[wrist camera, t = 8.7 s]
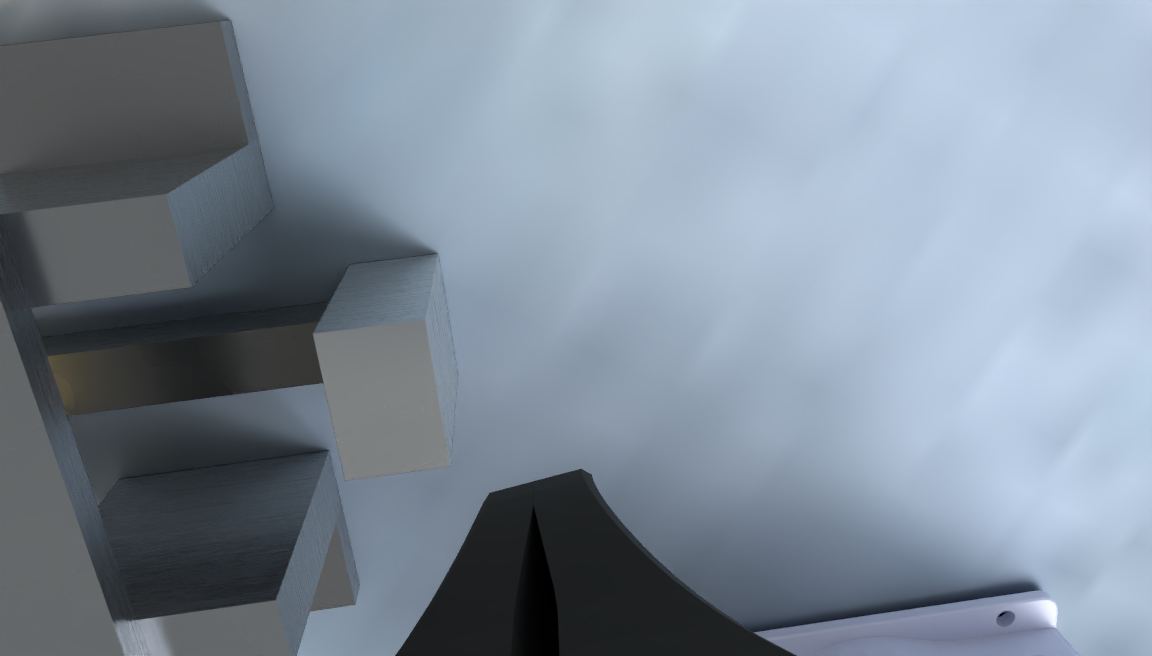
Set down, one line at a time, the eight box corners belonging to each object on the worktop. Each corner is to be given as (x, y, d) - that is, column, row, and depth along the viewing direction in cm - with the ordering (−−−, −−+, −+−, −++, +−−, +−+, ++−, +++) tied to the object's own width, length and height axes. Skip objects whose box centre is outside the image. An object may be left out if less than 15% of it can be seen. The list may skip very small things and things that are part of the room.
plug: (436, 243, 20) (420, 315, 16) (459, 384, 22) (451, 491, 17) (-205, 321, 20) (-423, 422, 15) (-145, 462, 21) (-327, 596, 16)
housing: (230, 20, 18) (102, 30, 12) (359, 584, 23) (312, 793, 17) (-21, 48, 18) (-278, 74, 12) (162, 613, 23) (44, 834, 17)
